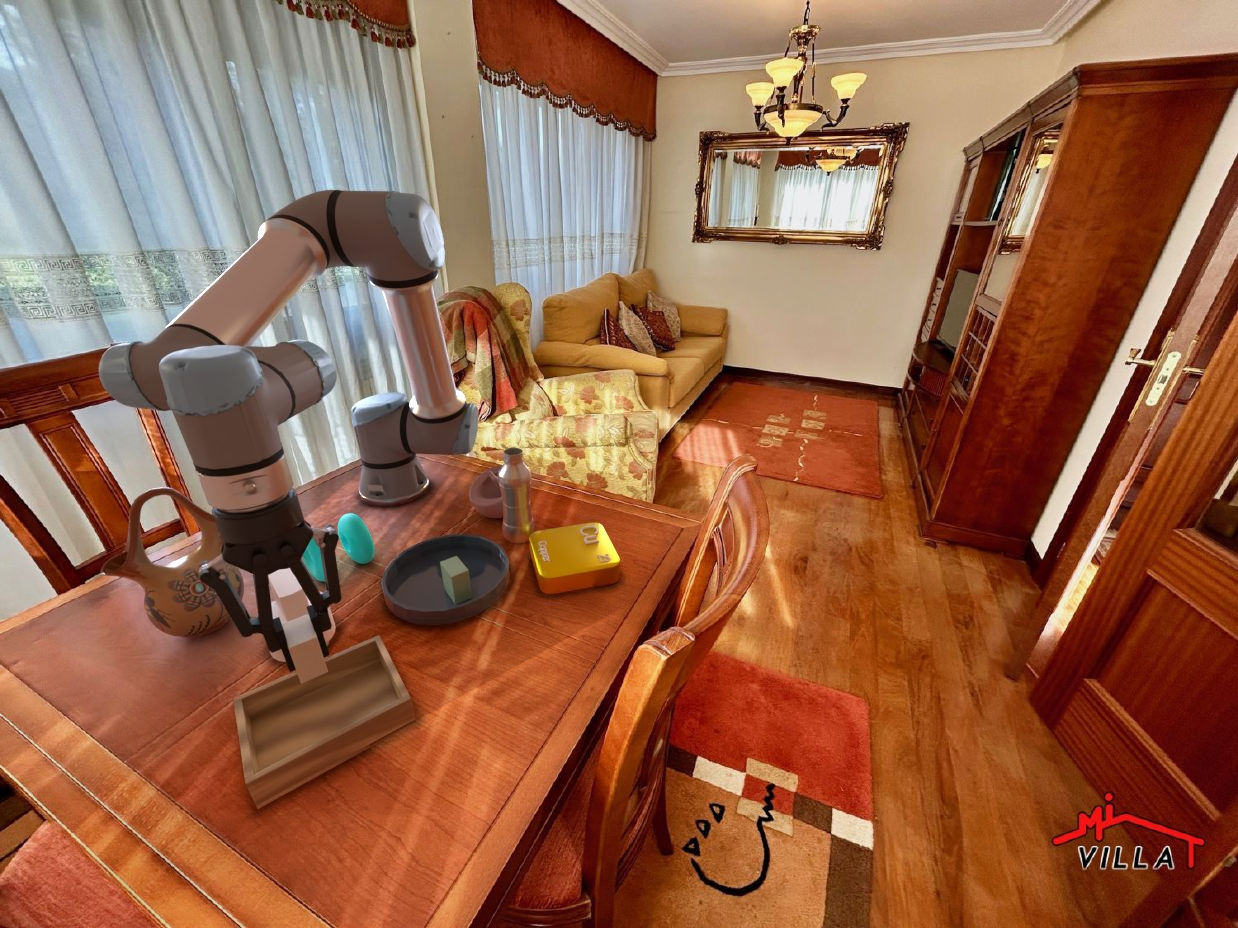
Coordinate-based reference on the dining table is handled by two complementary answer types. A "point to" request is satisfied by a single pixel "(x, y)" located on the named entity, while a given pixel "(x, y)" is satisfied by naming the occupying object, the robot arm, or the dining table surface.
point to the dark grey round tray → (420, 583)
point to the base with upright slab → (291, 603)
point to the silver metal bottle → (516, 497)
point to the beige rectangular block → (304, 648)
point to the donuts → (352, 540)
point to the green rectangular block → (456, 579)
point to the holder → (319, 719)
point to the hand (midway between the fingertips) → (307, 656)
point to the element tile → (573, 558)
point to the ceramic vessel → (176, 575)
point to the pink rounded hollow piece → (487, 494)
